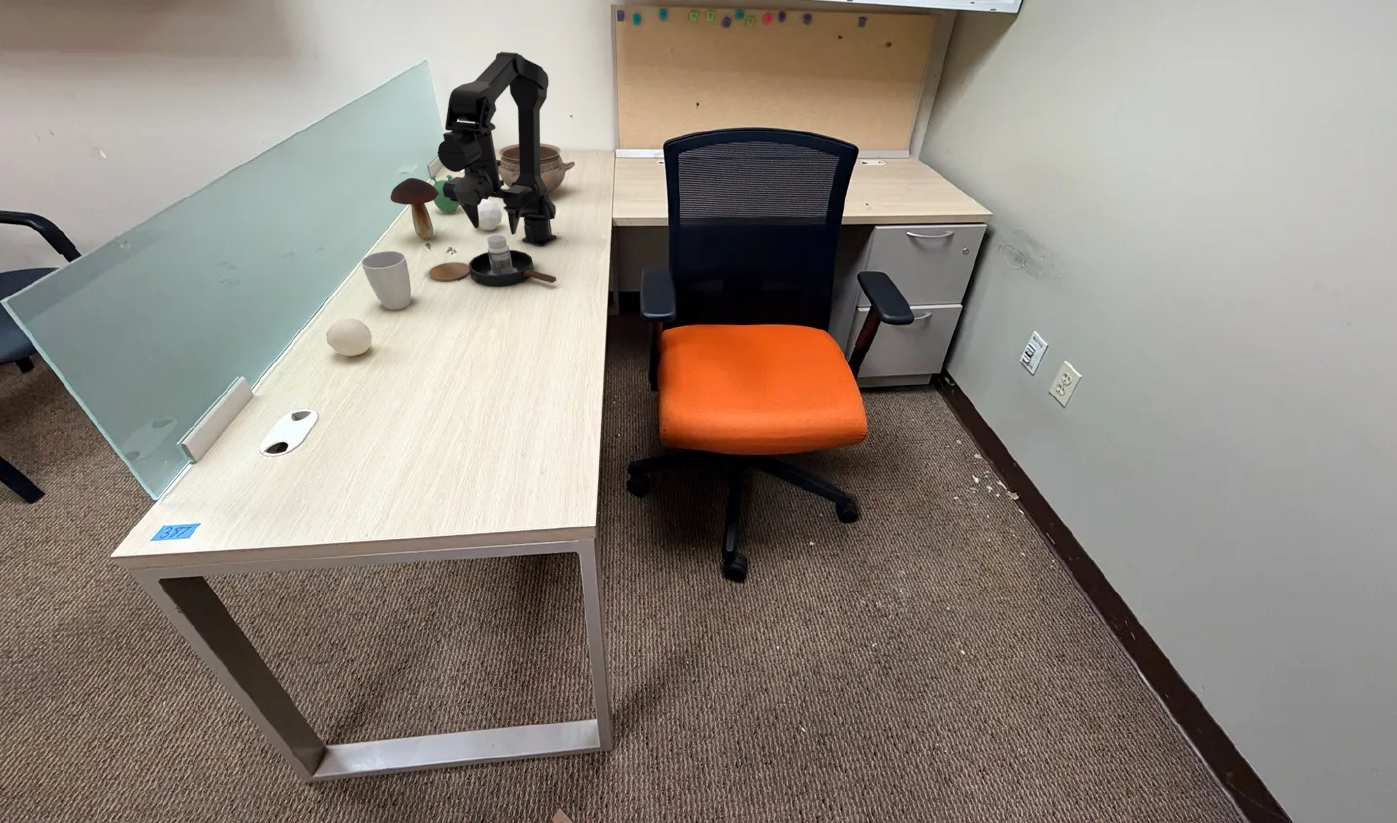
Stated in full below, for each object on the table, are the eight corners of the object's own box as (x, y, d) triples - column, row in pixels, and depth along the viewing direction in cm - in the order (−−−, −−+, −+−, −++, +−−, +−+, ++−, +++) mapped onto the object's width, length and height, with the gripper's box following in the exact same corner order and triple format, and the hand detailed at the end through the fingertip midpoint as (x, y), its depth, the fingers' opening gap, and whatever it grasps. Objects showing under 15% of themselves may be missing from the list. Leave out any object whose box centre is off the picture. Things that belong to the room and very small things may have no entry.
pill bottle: (494, 268, 140) (487, 233, 135) (514, 268, 141) (508, 233, 135) (490, 277, 137) (483, 242, 131) (511, 277, 137) (505, 242, 132)
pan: (500, 255, 146) (498, 245, 144) (573, 275, 139) (572, 265, 137) (457, 277, 136) (455, 266, 134) (535, 300, 129) (533, 289, 127)
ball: (487, 241, 159) (467, 223, 152) (481, 221, 162) (461, 202, 155) (511, 226, 158) (491, 207, 150) (504, 206, 161) (485, 187, 154)
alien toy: (462, 205, 171) (454, 169, 165) (463, 214, 166) (455, 178, 159) (436, 207, 169) (427, 171, 163) (436, 217, 164) (426, 179, 158)
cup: (426, 299, 128) (413, 254, 122) (399, 316, 122) (385, 271, 115) (395, 292, 130) (381, 248, 123) (367, 309, 124) (351, 263, 117)
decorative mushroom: (434, 249, 148) (418, 187, 138) (394, 244, 149) (375, 182, 140) (457, 232, 156) (443, 173, 147) (418, 228, 158) (403, 169, 148)
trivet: (450, 261, 143) (449, 259, 142) (479, 269, 140) (478, 267, 139) (420, 275, 136) (420, 273, 136) (450, 284, 133) (449, 282, 133)
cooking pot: (575, 182, 190) (572, 141, 183) (579, 202, 176) (575, 159, 168) (494, 184, 186) (487, 143, 178) (491, 206, 171) (483, 162, 164)
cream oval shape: (344, 342, 114) (331, 311, 110) (382, 343, 114) (371, 312, 109) (325, 361, 108) (312, 329, 104) (365, 363, 108) (353, 331, 104)
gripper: (417, 163, 119) (436, 238, 128) (500, 174, 115) (513, 251, 125) (450, 148, 127) (466, 220, 137) (529, 158, 123) (539, 231, 133)
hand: (495, 230), depth 132 cm, fingers open, 9 cm apart
